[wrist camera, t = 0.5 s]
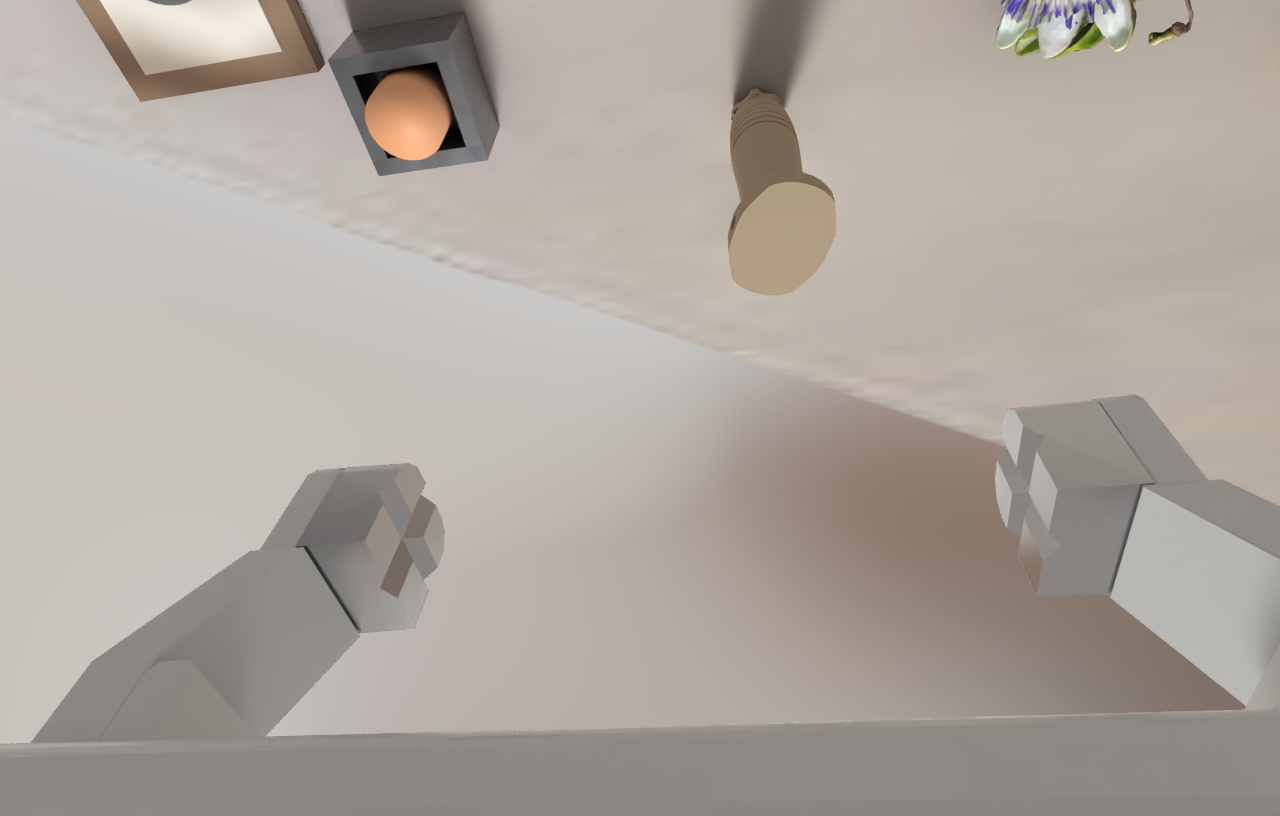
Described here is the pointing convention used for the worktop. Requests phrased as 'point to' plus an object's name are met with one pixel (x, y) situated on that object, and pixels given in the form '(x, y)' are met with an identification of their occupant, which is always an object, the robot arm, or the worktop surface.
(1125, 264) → the worktop surface
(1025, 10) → the passion flower
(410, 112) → the button
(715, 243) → the worktop surface
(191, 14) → the board
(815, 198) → the handle
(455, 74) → the button housing
